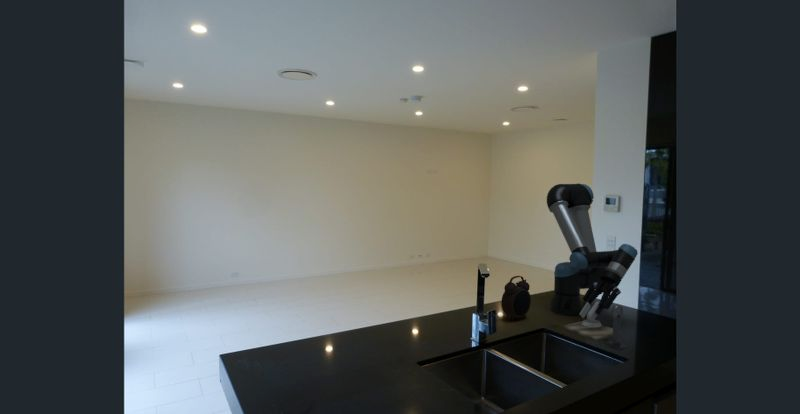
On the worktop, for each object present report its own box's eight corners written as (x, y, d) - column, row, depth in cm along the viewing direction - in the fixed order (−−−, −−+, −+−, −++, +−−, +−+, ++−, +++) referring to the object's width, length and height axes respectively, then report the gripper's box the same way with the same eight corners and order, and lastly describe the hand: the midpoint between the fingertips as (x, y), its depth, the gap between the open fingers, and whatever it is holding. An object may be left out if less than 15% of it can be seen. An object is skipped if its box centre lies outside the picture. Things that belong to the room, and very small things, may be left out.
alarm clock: (512, 324, 181) (512, 280, 180) (499, 319, 187) (500, 276, 186) (533, 318, 189) (534, 275, 188) (521, 313, 195) (521, 272, 194)
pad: (563, 327, 177) (563, 325, 177) (588, 321, 184) (588, 319, 184) (595, 340, 162) (595, 338, 162) (621, 333, 169) (621, 331, 169)
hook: (616, 314, 169) (604, 306, 167) (598, 337, 170) (586, 329, 169) (605, 306, 176) (593, 298, 175) (588, 328, 177) (577, 320, 176)
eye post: (605, 344, 159) (606, 304, 158) (613, 341, 161) (614, 302, 160) (619, 349, 154) (620, 308, 152) (627, 347, 156) (629, 306, 155)
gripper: (635, 284, 171) (608, 329, 165) (600, 276, 186) (573, 316, 180) (628, 273, 168) (599, 318, 162) (592, 265, 183) (565, 306, 177)
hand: (586, 317), depth 171 cm, fingers closed on hook, 4 cm apart
